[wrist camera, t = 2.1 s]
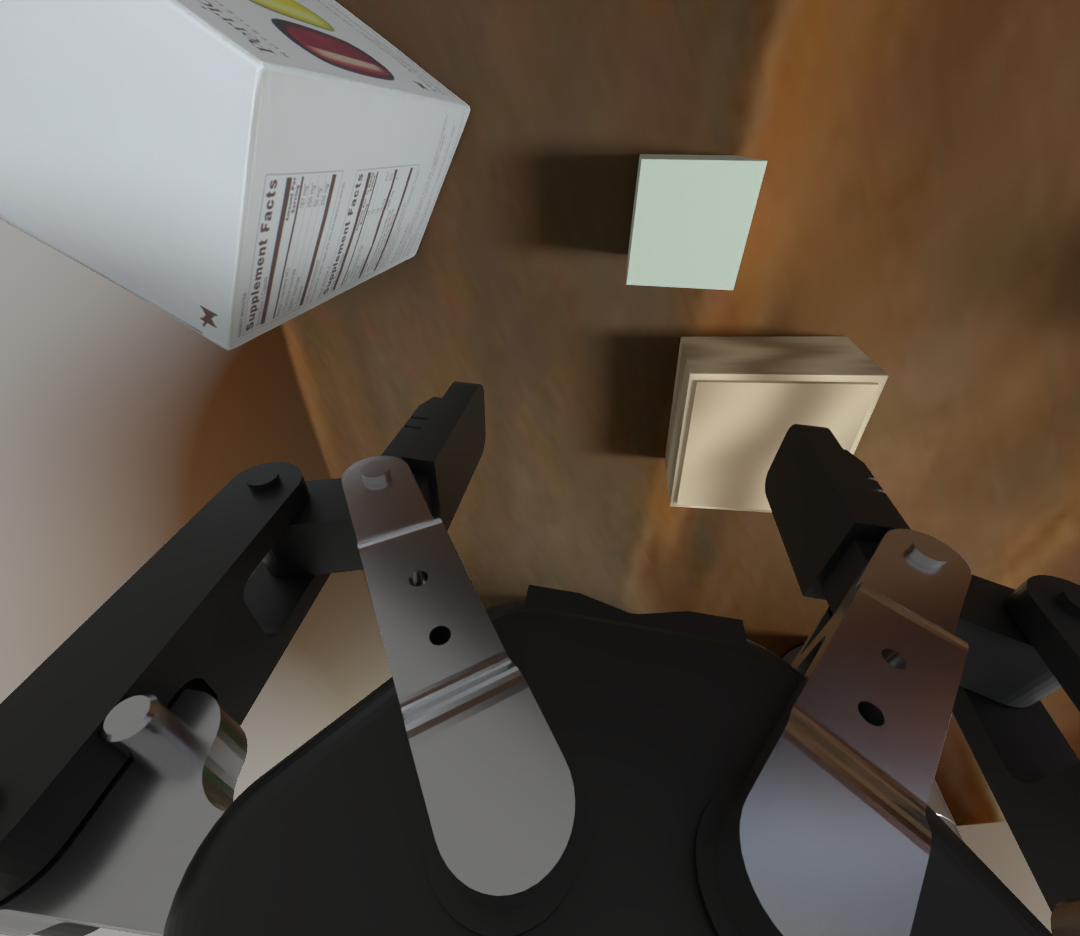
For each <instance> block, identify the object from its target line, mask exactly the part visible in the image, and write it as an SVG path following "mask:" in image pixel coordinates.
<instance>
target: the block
mask: <svg viewBox="0 0 1080 936" xmlns="http://www.w3.org/2000/svg"><path fill="white" fill-rule="evenodd" d="M766 165H767V161H764V160H759V159H753V158H747V157H741V156H736V155H666V154H640V156H639V164H638V173H637V181H636V190H635V198H634V206H633V215H632V223H631V232H630V240H629V248H628V261H627V282H626V285H643V286H662V287H681V288H700V289H719V290H733V289H734V285H735V281H736V278H737V274H738V270H739V266H740V263H741V259H742V255H743V251H744V248H745V244H746V240H747V236H748V232H749V229H750V225H751V221H752V217H753V214H754V210H755V206H756V202H757V199H758V195H759V191H760V187H761V183H762V180H763V176H764V172H765V168H766Z"/></svg>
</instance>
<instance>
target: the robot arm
mask: <svg viewBox="0 0 1080 936" xmlns="http://www.w3.org/2000/svg"><path fill="white" fill-rule="evenodd" d="M484 444H485V407H484V389H483V386H482V385H480V384H472V383H463V382H453V384H452V385H451V386H450V388H449V389H448V391H447V392H446V394H445V395H444V396H443V398H438V397H433V398H431V399H430V400H428V401H426V402H424V403H423V404H421V405H419V407H418V408H417V409H416V411H415V412H414V413H413V414H412V416H411V419H410V418H409V420H408V421H407V422H406V424H405V425H404V428H402V429H401V430H400V432H399V433H398V434H397V435H396V437H395V438H394V439H393V441H392V442H391V443H390V445H389V446H388V447H387V449H386V450H385V451H384V453H383V454H382V455H381V456H374V457H369V458H365V459H363V460H360V461H358V462H356V463H354V464H353V465H351V466H350V467H349V468H348V469H347V470H346V471H345V472H344V474H343V476H342V478H338V479H327V480H313V481H304V478H303V475H302V472H301V471H300V469H299V468H298V467H297V466H295V465H293V464H290V463H285V462H271V463H265V464H260V465H257V466H254V467H252V468H249V469H247V470H245V471H243V472H241V473H240V474H238V475H237V476H236V477H235V478H233V479H232V480H231V481H230V482H229V483H228V484H227V485H226V486H225V487H224V488H223V489H222V490H221V491H220V492H219V493H218V494H217V495H216V496H214V497H213V498H212V499H211V501H209V502H208V503H207V504H206V505H205V506H204V507H203V508H202V509H201V510H200V511H199V512H198V513H197V514H196V515H195V516H194V517H193V518H192V519H191V520H190V521H189V522H188V523H187V524H186V525H185V526H184V527H182V528H181V529H180V530H179V531H178V533H176V535H174V536H173V537H172V538H171V539H170V540H169V541H168V542H167V543H166V544H165V545H164V546H163V547H162V548H161V549H160V550H159V551H158V552H157V553H156V554H155V555H154V556H153V557H152V558H150V559H149V561H147V562H146V564H144V565H143V566H142V567H141V568H140V569H139V570H138V571H137V572H136V573H135V574H134V575H133V576H132V577H131V578H130V579H129V580H128V581H127V582H126V583H125V584H124V585H123V586H122V587H121V588H120V589H119V590H117V591H116V592H115V593H114V594H113V595H112V596H111V597H110V598H109V599H108V600H107V601H106V602H105V603H104V604H103V605H102V606H101V607H100V608H99V609H98V610H97V611H96V612H95V613H94V614H93V615H92V616H91V617H90V618H89V619H88V620H87V621H85V623H83V624H82V625H81V626H80V627H79V628H78V629H77V630H76V631H75V632H74V633H73V634H72V635H71V636H70V637H69V638H68V639H67V640H66V641H65V642H64V643H63V644H62V645H61V646H60V647H59V648H58V649H57V650H56V651H55V652H54V653H52V654H51V655H50V656H49V657H48V658H47V659H46V660H45V661H44V662H43V663H42V664H41V665H40V666H39V667H38V668H37V669H36V670H35V671H34V672H33V673H32V674H31V675H30V676H29V677H28V678H27V679H26V680H25V681H24V682H23V683H22V684H21V685H19V686H18V688H17V689H15V690H14V691H13V692H12V693H11V694H10V695H9V696H8V697H7V698H6V699H5V700H4V701H3V702H2V703H1V704H0V934H4V935H10V936H25V935H29V934H34V935H41V936H84V935H86V934H89V933H91V932H93V931H95V930H97V929H99V928H100V927H101V928H107V929H113V930H119V931H125V932H132V933H138V934H144V935H151V936H1080V760H1079V759H1078V757H1077V756H1076V754H1075V753H1074V751H1073V750H1072V748H1071V747H1070V745H1069V744H1068V742H1067V741H1066V739H1065V738H1064V736H1063V735H1062V733H1061V731H1060V730H1059V728H1058V727H1057V725H1056V724H1055V722H1054V721H1053V719H1052V718H1051V716H1050V715H1049V713H1048V712H1047V710H1046V709H1045V707H1044V706H1043V704H1042V703H1041V701H1040V700H1041V699H1042V698H1044V697H1046V696H1047V695H1049V694H1051V693H1052V692H1054V691H1056V690H1058V689H1059V688H1061V687H1062V688H1063V689H1064V690H1065V692H1066V693H1067V695H1068V696H1069V697H1070V699H1071V700H1072V702H1073V703H1074V704H1075V706H1076V707H1077V709H1078V710H1079V711H1080V585H1078V584H1075V583H1073V582H1070V581H1068V580H1064V579H1061V578H1058V577H1053V576H1047V575H1037V576H1033V577H1031V578H1029V579H1028V580H1027V581H1025V582H1024V583H1023V584H1022V585H1021V586H1020V587H1018V588H1017V589H1016V590H1015V589H1012V588H1009V587H1006V586H1003V585H1000V584H997V583H994V582H991V581H989V580H986V579H983V578H980V577H977V576H974V575H972V573H971V569H970V567H969V565H968V564H967V562H966V561H965V560H964V559H963V558H962V556H961V555H960V554H958V553H957V552H956V551H955V550H954V549H952V548H951V547H950V546H948V545H947V544H945V543H943V542H942V541H940V540H938V539H936V538H934V537H932V536H929V535H927V534H924V533H922V532H918V531H914V530H911V529H910V528H909V526H908V525H907V524H906V522H905V521H904V519H903V518H902V516H901V515H900V514H899V512H898V511H897V509H896V508H895V506H894V505H893V504H892V502H891V501H890V499H889V498H888V496H887V495H886V494H885V493H883V489H882V488H881V486H880V485H879V484H878V482H877V481H874V479H875V478H874V476H873V475H872V474H871V472H870V471H869V469H868V468H867V466H866V465H865V464H864V463H863V462H862V461H860V460H859V459H858V458H857V457H855V456H854V455H853V454H851V453H850V452H849V451H848V450H844V449H843V448H842V447H841V445H840V444H839V442H838V441H837V439H836V438H835V436H834V435H833V433H832V432H831V430H830V429H829V428H826V427H818V426H810V425H801V424H794V425H792V426H791V427H790V428H789V429H788V431H787V433H786V435H785V437H784V439H783V441H782V443H781V445H780V447H779V449H778V451H777V454H776V456H775V458H774V460H773V462H772V464H771V466H770V468H769V470H768V473H767V476H766V480H765V494H766V497H767V500H768V502H769V505H770V508H771V511H772V513H773V516H774V519H775V521H776V524H777V527H778V529H779V532H780V535H781V538H782V540H783V543H784V546H785V548H786V551H787V554H788V556H789V559H790V562H791V564H792V567H793V570H794V573H795V575H796V578H797V581H798V583H799V586H800V589H801V591H802V594H803V596H805V597H812V598H818V599H824V600H827V602H828V604H829V607H828V608H827V609H826V610H825V612H824V613H823V614H822V616H821V617H820V619H819V621H818V622H817V624H816V625H815V627H814V629H813V630H812V632H811V634H810V635H809V637H808V638H807V640H806V642H805V643H804V645H801V646H799V647H797V648H795V649H793V650H791V651H790V652H788V653H787V654H786V655H785V656H784V657H783V659H782V658H781V657H779V656H778V655H776V654H775V653H773V652H771V651H770V650H768V649H766V648H765V647H763V646H761V645H759V644H757V643H755V642H753V641H751V640H748V639H747V638H746V634H745V630H744V625H743V621H742V620H738V619H732V618H726V617H720V616H714V615H708V614H702V613H696V612H690V611H684V612H668V613H652V614H631V613H628V612H625V611H623V610H620V609H618V608H615V607H613V606H610V605H608V604H605V603H603V602H600V601H598V600H595V599H593V598H590V597H588V596H585V595H583V594H580V593H575V592H569V591H563V590H557V589H551V588H545V587H539V586H533V585H529V588H528V592H527V597H526V600H522V601H513V602H508V603H503V604H500V605H497V606H494V607H491V608H489V609H486V610H485V608H484V606H483V604H482V602H481V600H480V598H479V596H478V594H477V592H476V590H475V588H474V586H473V583H472V581H471V579H470V577H469V575H468V573H467V571H466V569H465V567H464V565H463V563H462V561H461V559H460V557H459V555H458V553H457V551H456V549H455V546H454V544H453V542H452V540H451V538H450V536H449V534H448V532H447V531H448V528H449V526H450V524H451V522H452V520H453V517H454V515H455V513H456V511H457V508H458V506H459V504H460V502H461V500H462V497H463V495H464V493H465V491H466V489H467V486H468V484H469V482H470V480H471V478H472V475H473V473H474V471H475V469H476V467H477V464H478V462H479V460H480V458H481V456H482V453H483V449H484ZM262 560H263V561H262ZM261 561H262V562H261ZM260 562H261V563H260ZM259 563H260V565H259ZM258 565H259V566H258ZM257 566H258V567H257ZM256 567H257V569H256ZM255 569H256V570H255ZM363 569H364V572H365V576H366V579H367V583H368V587H369V590H370V594H371V598H372V602H373V605H374V609H375V613H376V617H377V620H378V624H379V628H380V632H381V635H382V639H383V643H384V647H385V650H386V654H387V658H388V662H389V665H390V669H391V673H392V678H390V679H389V680H388V681H387V682H385V683H384V684H382V685H381V686H380V687H378V688H377V689H376V690H374V691H373V692H372V693H370V694H369V695H368V696H367V697H365V698H364V699H363V700H361V701H360V702H359V703H357V704H356V705H355V706H353V707H352V708H351V709H349V710H348V711H347V712H345V713H344V714H343V715H342V716H340V717H339V718H338V719H336V720H335V721H334V722H332V723H331V724H330V725H328V726H327V727H326V728H324V729H323V730H322V731H320V732H319V733H318V734H316V735H315V736H314V737H313V738H311V739H310V740H308V741H307V742H306V743H305V744H303V745H302V746H301V747H299V748H298V749H297V750H295V751H294V752H293V753H292V754H290V755H289V756H287V757H286V758H285V759H284V760H282V761H281V762H279V763H278V764H277V765H276V766H274V767H273V768H272V769H270V770H269V771H268V772H266V773H265V774H264V775H262V776H261V777H260V778H259V779H257V780H256V781H255V782H254V783H253V784H251V785H250V786H249V787H248V788H247V789H246V790H245V791H244V792H243V793H242V794H241V795H239V796H238V798H237V799H236V800H235V801H234V802H233V795H234V788H235V785H236V781H237V778H238V776H239V774H240V771H241V769H242V766H243V764H244V761H245V757H246V754H247V739H246V735H245V733H244V731H243V729H242V728H241V727H240V725H241V724H242V722H243V720H244V718H245V717H246V715H247V713H248V712H249V710H250V708H251V707H252V705H253V703H254V702H255V700H256V698H257V697H258V695H259V693H260V692H261V689H262V688H263V687H264V685H265V683H266V681H267V680H268V678H269V676H270V675H271V673H272V671H273V670H274V668H275V666H276V664H277V663H278V661H279V660H280V658H281V656H282V655H283V653H284V651H285V649H286V648H287V646H288V644H289V643H290V641H291V639H292V638H293V636H294V634H295V633H296V631H297V629H298V628H299V626H300V624H301V623H302V621H303V619H304V617H305V616H306V614H307V612H308V611H309V609H310V607H311V606H312V604H313V602H314V601H315V599H316V597H317V596H318V594H319V592H320V591H321V589H322V587H323V585H324V584H325V582H326V580H327V579H328V577H329V575H330V574H331V573H336V572H345V571H353V570H363ZM254 570H255V571H254ZM253 571H254V573H253ZM252 573H253V574H252ZM251 574H252V575H251ZM250 575H251V576H250ZM249 577H250V578H249ZM248 578H249V579H248ZM952 712H953V714H954V716H955V718H956V720H957V722H958V724H959V726H960V728H961V730H962V732H963V734H964V736H965V738H966V740H967V742H968V744H969V746H970V748H971V750H972V752H973V754H974V756H975V758H976V760H977V763H978V765H979V767H980V769H981V771H982V773H983V775H984V777H985V779H986V781H987V783H988V785H989V787H990V789H991V791H992V793H993V795H994V797H995V799H996V801H997V803H998V805H999V807H1000V809H1001V811H1002V813H1003V815H1004V817H1005V819H1006V821H1007V823H1008V825H1009V827H1010V829H1011V831H1012V833H1013V835H1014V837H1015V839H1016V841H1017V843H1018V845H1019V847H1020V849H1021V851H1022V853H1023V855H1024V857H1025V859H1026V861H1027V863H1028V865H1029V867H1030V869H1031V871H1032V873H1033V875H1034V877H1035V879H1036V881H1037V884H1038V886H1039V888H1040V890H1041V892H1042V893H1043V896H1044V897H1045V900H1046V902H1047V904H1048V906H1049V908H1050V910H1051V912H1052V915H1051V930H1052V933H1050V931H1049V930H1048V929H1047V928H1045V926H1044V925H1043V924H1042V923H1041V922H1040V921H1039V920H1038V919H1037V918H1036V917H1035V916H1034V915H1033V914H1032V913H1031V912H1030V911H1029V910H1028V909H1027V907H1026V906H1025V905H1024V904H1023V903H1022V902H1020V900H1019V899H1018V898H1017V897H1016V896H1015V895H1014V894H1013V893H1012V892H1011V891H1010V890H1009V889H1008V888H1007V887H1006V886H1005V885H1004V884H1003V883H1002V882H1001V880H1000V879H999V878H997V876H996V875H995V874H994V873H993V872H992V871H991V870H990V869H989V868H988V867H987V866H986V865H985V864H984V863H983V862H982V861H981V860H980V859H979V858H978V857H977V856H976V854H975V853H974V852H973V851H971V849H970V848H969V847H968V846H967V845H966V844H965V843H964V841H963V839H962V837H961V835H960V833H959V831H958V829H957V826H956V824H955V822H954V820H953V818H952V816H951V814H950V812H949V809H948V807H947V805H946V803H945V801H944V799H943V796H942V794H941V792H940V790H939V788H938V786H937V783H936V781H935V779H934V777H935V773H936V770H937V766H938V762H939V758H940V755H941V751H942V747H943V744H944V740H945V736H946V732H947V729H948V725H949V721H950V718H951V714H952ZM1052 934H1053V935H1052Z"/></svg>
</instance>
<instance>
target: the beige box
mask: <svg viewBox="0 0 1080 936" xmlns="http://www.w3.org/2000/svg"><path fill="white" fill-rule="evenodd" d="M887 378H888V375H887V374H886V373H885V372H884V371H883V370H882V369H881V368H880V367H879V366H877V365H876V364H875V363H874V362H873V361H872V360H871V359H870V358H869V357H868V356H867V355H866V354H864V353H863V352H862V351H861V350H860V349H859V348H858V347H857V346H856V345H855V344H854V343H853V342H851V341H850V340H849V339H848V338H847V337H846V336H784V337H681V340H680V348H679V355H678V363H677V371H676V378H675V386H674V393H673V401H672V409H671V416H670V424H669V432H668V439H667V447H666V454H665V463H666V473H667V483H668V492H669V502H670V506H675V507H691V508H708V509H724V510H740V511H757V512H772V511H771V508H770V505H769V502H768V500H767V497H766V494H765V480H766V476H767V473H768V470H769V468H770V466H771V464H772V462H773V460H774V458H775V456H776V454H777V451H778V449H779V447H780V445H781V443H782V441H783V439H784V437H785V435H786V433H787V431H788V429H789V428H790V427H791V426H792V425H794V424H801V425H810V426H818V427H826V428H829V429H830V430H831V432H832V433H833V435H834V436H835V438H836V439H837V441H838V442H839V444H840V445H841V447H842V448H843V449H844V450H848V451H849V452H850V453H851V454H854V452H855V450H856V448H857V445H858V443H859V441H860V439H861V436H862V434H863V432H864V430H865V427H866V425H867V423H868V421H869V418H870V416H871V414H872V412H873V409H874V407H875V405H876V403H877V400H878V398H879V396H880V394H881V391H882V389H883V387H884V385H885V382H886V380H887Z"/></svg>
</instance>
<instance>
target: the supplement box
mask: <svg viewBox="0 0 1080 936" xmlns="http://www.w3.org/2000/svg"><path fill="white" fill-rule="evenodd" d="M469 113H470V106H469V105H468V104H467V103H465V102H464V101H463V100H461V99H460V98H459V97H458V96H456V95H455V94H454V93H452V92H451V91H450V90H449V89H447V88H446V87H445V86H443V85H442V84H441V83H440V82H438V81H437V80H436V79H435V78H433V77H432V76H431V75H430V74H428V73H427V72H426V71H425V70H423V69H422V68H421V67H420V66H418V65H417V64H416V63H415V62H413V61H412V60H411V59H410V58H408V57H407V56H406V55H405V54H403V53H402V52H401V51H400V50H398V49H397V48H396V47H394V46H393V45H392V44H391V43H389V42H388V41H387V40H385V39H384V38H383V37H381V36H380V35H379V34H378V33H376V32H375V31H374V30H372V29H371V28H370V27H368V26H367V25H366V24H365V23H363V22H362V21H361V20H359V19H358V18H357V17H355V16H354V15H353V14H352V13H350V12H349V11H348V10H346V9H345V8H344V7H342V6H341V5H340V4H339V3H337V2H336V1H335V0H0V219H1V220H3V221H5V222H7V223H8V224H10V225H12V226H14V227H16V228H17V229H20V230H21V231H23V232H25V233H27V234H28V235H30V236H32V237H34V238H35V239H37V240H39V241H41V242H43V243H45V244H47V245H48V246H50V247H52V248H54V249H56V250H58V251H59V252H61V253H63V254H64V255H66V256H68V257H70V258H71V259H73V260H75V261H77V262H78V263H80V264H82V265H84V266H86V267H87V268H89V269H91V270H93V271H94V272H96V273H98V274H100V275H101V276H103V277H105V278H107V279H109V280H110V281H112V282H114V283H115V284H117V285H119V286H121V287H122V288H124V289H126V290H128V291H129V292H131V293H133V294H135V295H137V296H138V297H140V298H141V299H143V300H145V301H146V302H148V303H150V304H152V305H153V306H155V307H156V308H158V309H160V310H161V311H163V312H165V313H166V314H168V315H170V316H172V317H173V318H175V319H176V320H178V321H180V322H182V323H183V324H185V325H187V326H188V327H190V328H192V329H193V330H195V331H196V332H198V333H200V334H201V335H203V336H204V337H206V338H208V339H209V340H211V341H212V342H214V343H216V344H217V345H219V346H220V347H222V348H224V349H226V350H231V349H233V348H236V347H238V346H240V345H242V344H244V343H246V342H247V341H249V340H251V339H253V338H255V337H257V336H259V335H261V334H263V333H265V332H267V331H269V330H271V329H273V328H275V327H277V326H279V325H281V324H283V323H284V322H286V321H288V320H290V319H292V318H294V317H296V316H298V315H300V314H302V313H304V312H306V311H308V310H310V309H312V308H314V307H316V306H318V305H320V304H322V303H324V302H325V301H327V300H329V299H331V298H333V297H335V296H337V295H339V294H341V293H343V292H345V291H346V290H348V289H350V288H353V287H355V286H356V285H358V284H360V283H362V282H364V281H366V280H368V279H370V278H372V277H374V276H376V275H378V274H380V273H382V272H384V271H386V270H388V269H390V268H392V267H394V266H396V265H398V264H400V263H402V262H403V261H406V260H408V259H410V258H412V257H413V256H415V254H416V252H417V250H418V247H419V245H420V242H421V239H422V237H423V234H424V232H425V229H426V226H427V224H428V221H429V218H430V216H431V213H432V210H433V208H434V205H435V202H436V200H437V197H438V194H439V192H440V189H441V187H442V184H443V181H444V179H445V176H446V174H447V171H448V169H449V166H450V163H451V161H452V158H453V156H454V153H455V150H456V148H457V145H458V142H459V140H460V137H461V135H462V132H463V129H464V127H465V124H466V121H467V119H468V116H469Z"/></svg>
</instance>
